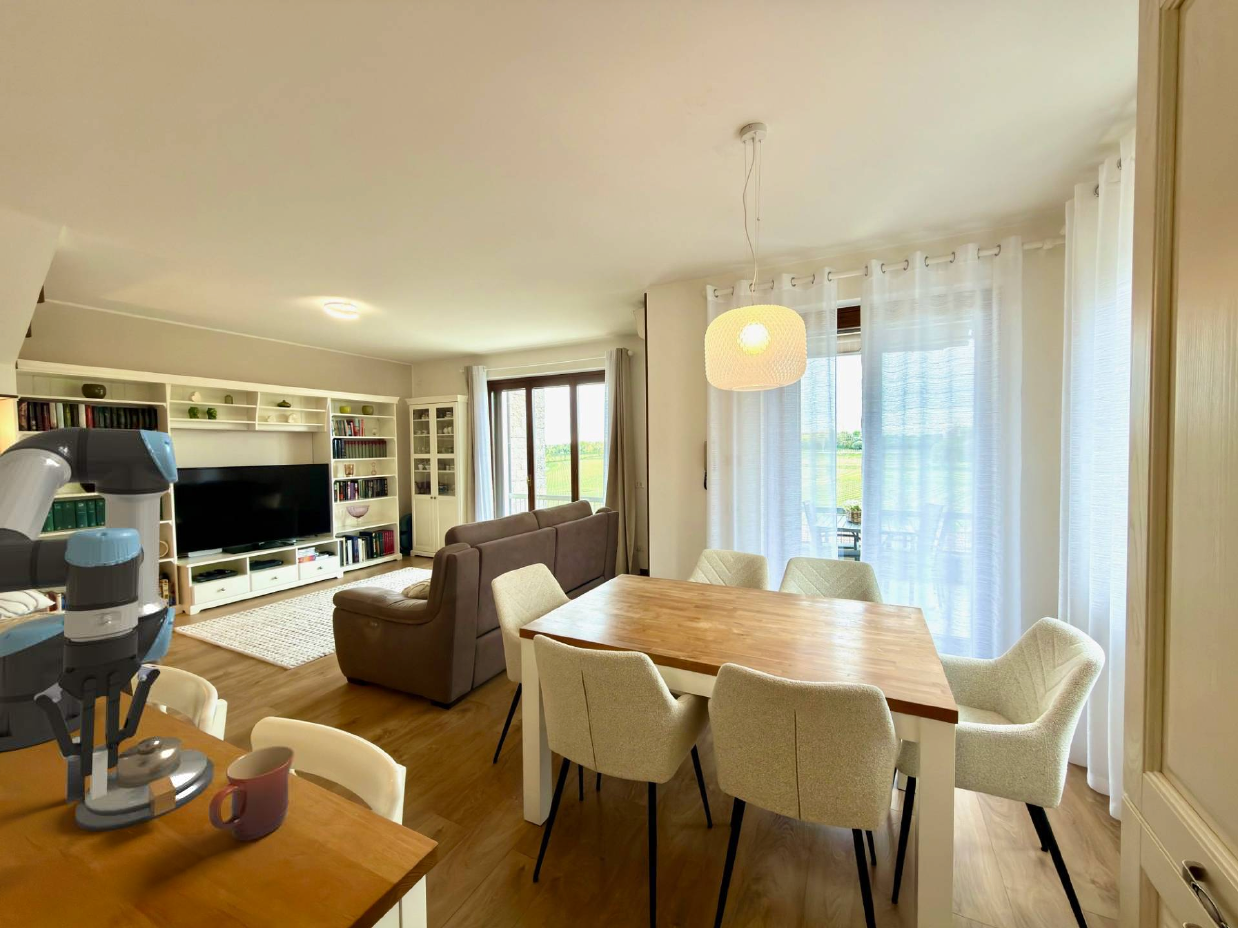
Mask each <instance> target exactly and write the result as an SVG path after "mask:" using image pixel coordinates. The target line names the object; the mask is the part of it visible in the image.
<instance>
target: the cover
mask: <svg viewBox="0 0 1238 928" xmlns="http://www.w3.org/2000/svg"><path fill="white" fill-rule="evenodd" d="M181 750H182V740H181V739H180V738H179V737H175V736H164V737H162V736H157V735H156V736H152V737H148V738H145V739H143V740H141V741H140V742H138V744H135V745H133V746H130V747H129V748H127V749H125V750H124V751H122V752H121V753H120V754H118V763H117V765H116V769H117V771H116V785H117V786H118V787H120V788H135V787H140V786H144V785H148V784H149V783H151V782H153V781H156V780H159V779H162V778H164V777H167V776H169V775H171V774H172V773H174V772H175V771H176V770H177V769H178V768H179V767H180V762H181Z"/></svg>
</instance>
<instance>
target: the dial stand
mask: <svg viewBox="0 0 1238 928" xmlns="http://www.w3.org/2000/svg"><path fill="white" fill-rule="evenodd" d="M71 739H72V741H73V743H80V734H79V735H76V736H73V737H71ZM60 755H61V758H62V760H65V761H66V772H65V773H66V775H65V776H66V779H65V781H66V782H65V783H66V784H65V802H66V804H67V805H69V804H71V803H74V802H77V801H80V800H81V799H82V798H83V797H84V796H85V794H86V791H85V790H86V777H84V778H82V777H81V776H80V772H79V761H80V756H78V755H72V756H69V757H63V755H62V753H61V752H60Z"/></svg>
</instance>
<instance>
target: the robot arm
mask: <svg viewBox="0 0 1238 928" xmlns="http://www.w3.org/2000/svg"><path fill="white" fill-rule="evenodd" d="M174 448H175V447H174V443H173V439H172V437H171V435H169V434H168V433H167V432H163V431H156V430H146V429H134V428H133V429H130V428H127V429H126V428H124V429H123V428H103V427H101V428H100V427H99V428H97V427H96V428H95V427H82V426H81V427H78V426H69V427H59V428H54V429H53V428H52V429H48V430H45V431H42V432H41V431H40V432H38V433H35V434H33V435H30V436H27V437H26V438H24V439H21V440H19V441H18V442H15V443H14V444H12V445H10V446H9V447H8V448H7V449H5V450H4V451H2V453H1V454H0V594H2V593H3V594H5V593H12V592H21V591H29V590H42V589H53V588H63V587H64V588H65V607H64V613H59V614H53V615H48V616H45V617H40V618H37V619H35V618H34V619H31V620H29V621H25V622H22V623H19V624H16V625H13V626H11V627H9V628H7V629H5V630H3V631H2V632H0V752H5V751H12V750H18V749H23V748H27V747H31V746H36V745H40V744H42V743H45V742H49V741H52V740H55V739H56V743H57V745H58V747H59V750H60V754H61V753H62V755H63V757H69V756H72V755H78V756H80V761H79V772H80V776H81V777H82V778H84V777H85V778H87V777H89V787H90V795H91V799H92V800H93V799H96V798H99V797H101V796H104V795H107V773H108V770H110V769H113V768H117V763H118V756H119V746H120V745H121V743H122V742H123V741H125V740H127V739H131V738H134V736H136V733H137V730H138V727H139V725H140V721H141V718H142V716H143V711H144V710H145V706H146V703H147V700H148V697H149V693H150V690H151V689H152V688H151V687H152V685H153V684H154V683H155V682H156V680H157V679H158V678H159V676H160V675H161V671H160V669H159V668H158V666H156V665H151V666H148V665H144V664H145V663H148V662H149V663H150V662H153V661H157V660H160V659H162V658H163V657H165V656H166V655H167V654H168V650H169V647H170V643H171V638H172V634H173V633H172V632H173V627H174V621H175V615H176V609H175V608H174V607H171V606H168V601H167V600H166V599H165V598H163V597H162V596H159V586H160V585H159V584H160V583H159V582H160V581H159V575H160V527H161V526H160V521H161V518H160V517H161V516H160V515H161V497H163V496H164V495H165V494H167V493H168V492H169V491H170V484H175V483H177V482H179V478H178V477H179V476H178V468H177V462H176V453H175V450H174ZM66 484H94V493H96V494H97V495H99V497H102V498H103V499H104V500H105V501H104V502H105V503H104V504H105V508H104V509H105V510H104V511H105V512H104V513H105V516H104V517H105V518H104V521H105V524H104V527H102V528H90V529H82V530H76V531H74V532H72V533H70V535H69V536H68V537H65V538H53V539H52V538H51V539H39V537H40V535H41V532H42V531H43V527H44V525H45V523H46V520H47V517H48V515H49V512H50V509H51V507H52V505H53V501H54V499H55V498H56V494H57V491H58V490H60V489H61V488H63V487H65V485H66ZM134 676H136V679H137V681H138V683H137V685H136V687H135V690H134V693H133V697H132V700H131V703H130V705H129V708H128V712H127V714H126V717H125V720H124V724H123V727H122V728H121V729H120V716H121V715H120V712H121V711H120V710H121V709H120V708H121V693H122V690H124V688H126V686H127V685H128V684H129V683H130V682H131V681H132V680H133V678H134ZM101 697H105V730H104V731H105V733H104V735H105V736H104V740H105V743H102V744H100V745H99V744H98V745H96V746H95V745H94V742H95V713H96V708H95V707H96V700H97V699H98V698H99V699H100V698H101ZM78 729H79V735H80V743H73V741H72V739H71V738H72V736H71V733H72V732H74V731H76V730H78Z"/></svg>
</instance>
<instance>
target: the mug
mask: <svg viewBox="0 0 1238 928" xmlns="http://www.w3.org/2000/svg"><path fill="white" fill-rule="evenodd" d="M294 758H295V750H294V749H293V748H291V746H287V745H273V746H266V747H261V748H258V749H255V750H252V751H250V752H247V753H246V754H245V753H244V754H243V755H242V756H240V757H238V758H236V759H235V760H234V761H232V762H231V763H230V764H229V765H228V766H227V768H226V769H225V777H226V780H227V781H228V784H226V785H225V786H224V787H223V788H221V789H220V790H219V791H218V792H216V794H214V796H213V797H212V799H211V800H210V803H209V807H208V816H209V817H208V818H209V821H210V825H212V826H213V827H214V828H215V829H217V830H221V831H222V830H230V831H231V834H232V835H231V836H232V837H234V839H237V840H242V841H253V840H256V839H259V838H262V837H265V836H266V835H268V834H270V833H272V832H273V831H274V830H276V829H277V828H278V827H279V826H280V825H281V824H282V823H283V822H284V821H285V820H286V817H287V813H288V810H289V805H290V802H289V801H290V800H289V799H290V796H289V795H290V794H289V791H290V790H289V789H290V788H289V787H290V786H289V777H290V776H289V775H290V771H291V770H290V769H291V767H292V763H293V761H294ZM230 794H231V797H230V798H231V801H230V817H228V818H227V819H226V820H223V818H222V811H221V810H222V803H223V801H224V799H226V798H227V797H228V796H229V795H230Z"/></svg>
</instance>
